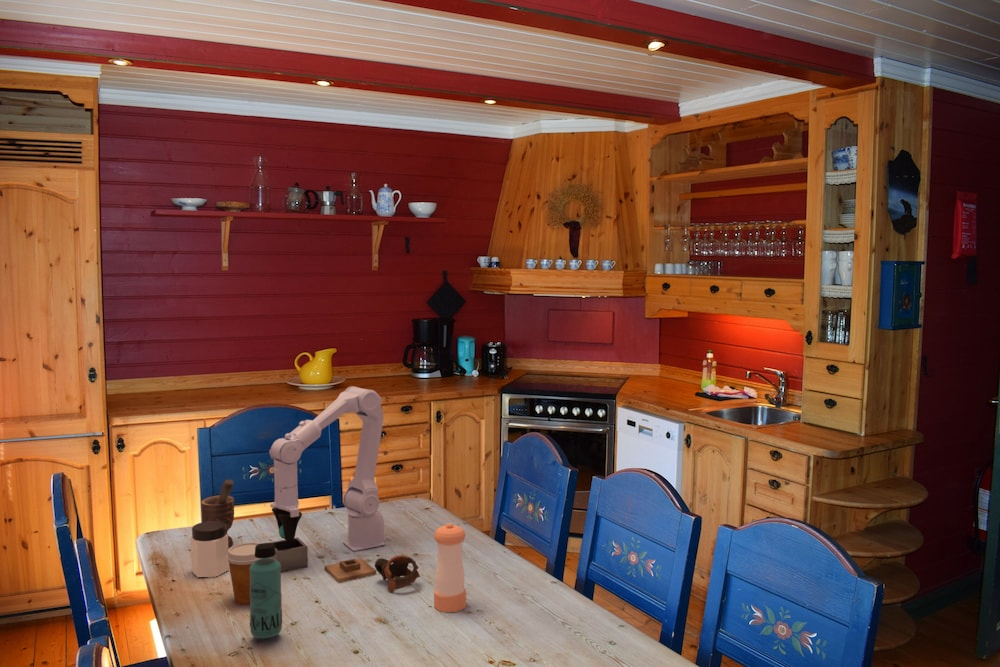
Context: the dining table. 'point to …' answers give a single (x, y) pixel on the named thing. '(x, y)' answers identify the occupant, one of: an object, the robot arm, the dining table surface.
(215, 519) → the mortar and pestle
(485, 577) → the dining table surface
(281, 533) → the ball
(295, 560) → the open box
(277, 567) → the beverage bottle
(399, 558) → the pottery mug
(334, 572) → the stand
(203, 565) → the jar
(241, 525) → the dining table surface
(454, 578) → the salt shaker
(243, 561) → the disposable coffee cup
